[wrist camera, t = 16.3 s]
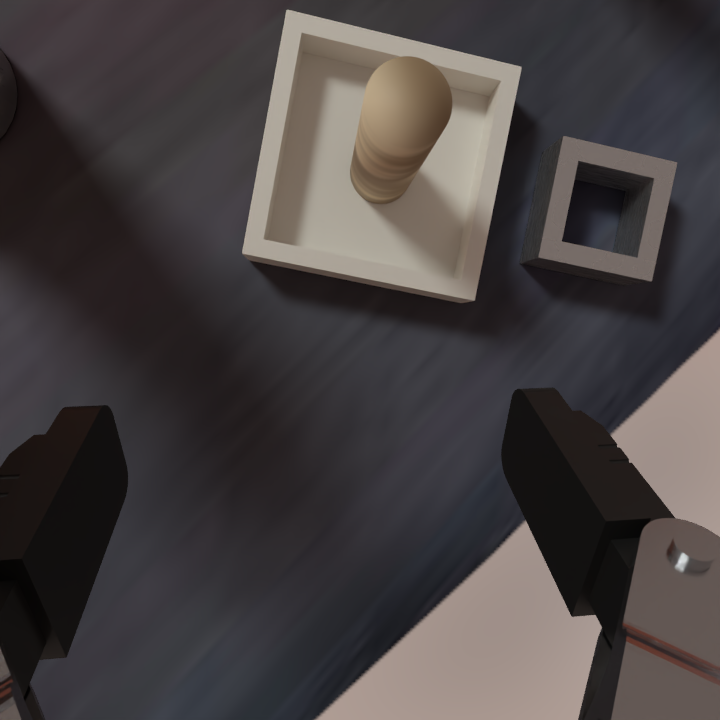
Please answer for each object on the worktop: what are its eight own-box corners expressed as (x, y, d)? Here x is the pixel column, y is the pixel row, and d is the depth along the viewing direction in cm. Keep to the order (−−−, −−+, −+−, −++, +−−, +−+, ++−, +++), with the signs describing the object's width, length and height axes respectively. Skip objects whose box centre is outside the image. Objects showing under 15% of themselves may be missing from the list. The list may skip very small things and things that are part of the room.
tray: (248, 260, 39) (242, 253, 36) (289, 38, 38) (286, 9, 35) (461, 303, 41) (474, 300, 37) (503, 89, 40) (521, 67, 36)
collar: (519, 263, 41) (538, 257, 37) (542, 152, 40) (563, 135, 37) (623, 285, 41) (651, 281, 38) (646, 176, 41) (677, 162, 38)
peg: (366, 214, 39) (387, 162, 27) (339, 156, 38) (349, 78, 26) (421, 188, 39) (466, 125, 27) (395, 131, 38) (430, 41, 26)
